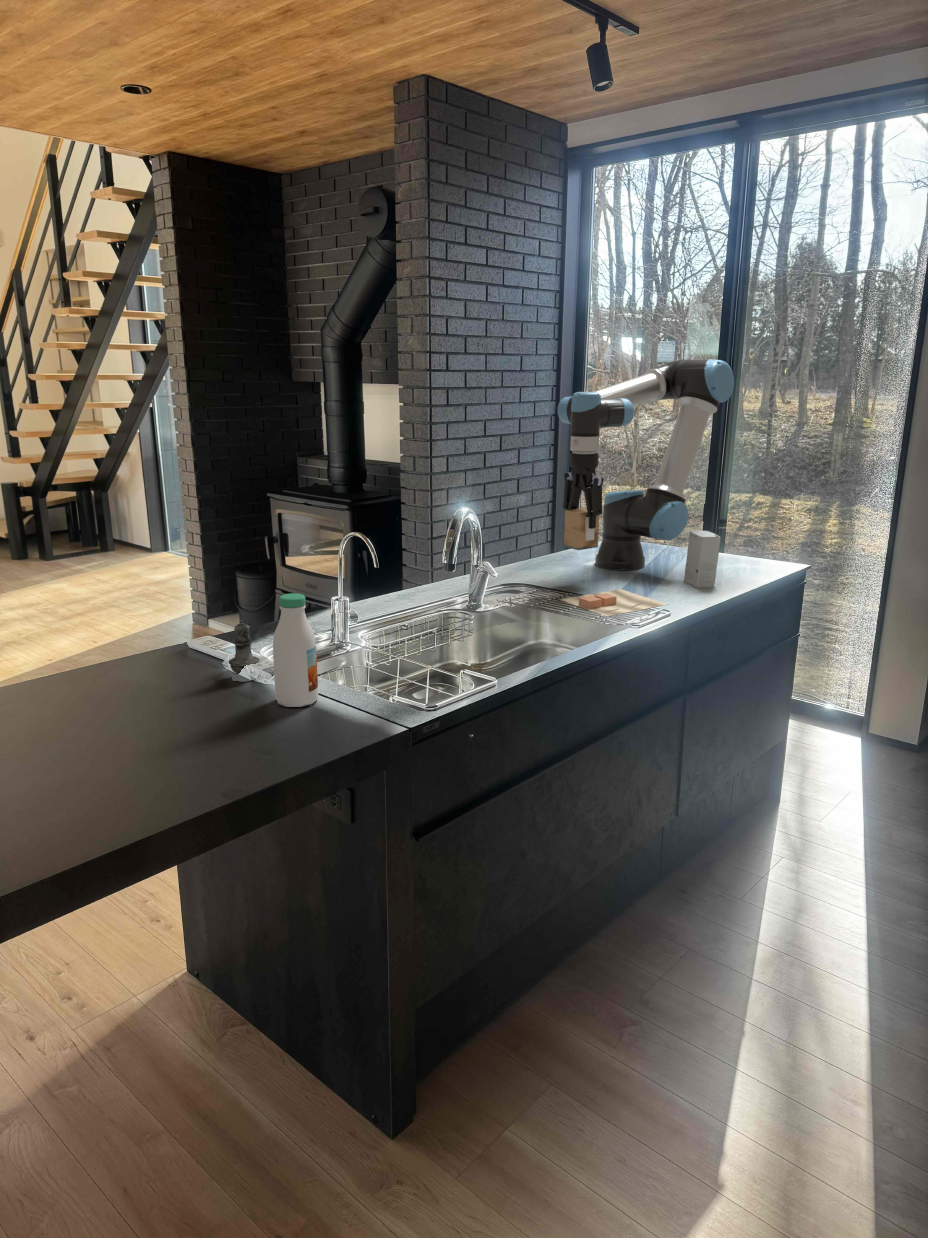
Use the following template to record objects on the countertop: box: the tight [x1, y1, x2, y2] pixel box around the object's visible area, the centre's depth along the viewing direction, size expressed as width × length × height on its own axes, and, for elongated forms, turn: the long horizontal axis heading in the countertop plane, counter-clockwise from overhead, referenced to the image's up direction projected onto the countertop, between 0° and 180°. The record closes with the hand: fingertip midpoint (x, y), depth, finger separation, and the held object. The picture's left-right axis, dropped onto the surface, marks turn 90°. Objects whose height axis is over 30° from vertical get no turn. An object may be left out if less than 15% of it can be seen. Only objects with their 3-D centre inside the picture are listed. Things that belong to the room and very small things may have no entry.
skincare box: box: [683, 530, 722, 589], centre depth 244 cm, size 8×6×15 cm
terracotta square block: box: [594, 593, 617, 606], centre depth 221 cm, size 4×4×2 cm
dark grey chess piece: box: [228, 619, 260, 674], centre depth 169 cm, size 6×6×12 cm
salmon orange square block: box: [578, 596, 602, 610], centre depth 218 cm, size 4×4×2 cm
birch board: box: [559, 588, 670, 617], centre depth 223 cm, size 21×18×1 cm
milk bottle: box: [272, 592, 319, 705], centre depth 156 cm, size 8×8×20 cm
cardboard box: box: [563, 507, 600, 551], centre depth 236 cm, size 7×6×10 cm
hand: (581, 537), depth 237 cm, fingers closed on cardboard box, 6 cm apart
